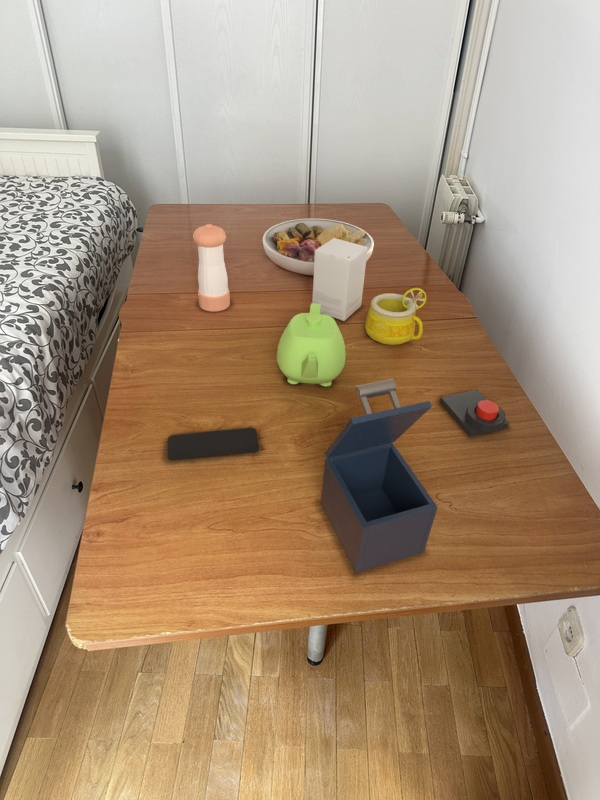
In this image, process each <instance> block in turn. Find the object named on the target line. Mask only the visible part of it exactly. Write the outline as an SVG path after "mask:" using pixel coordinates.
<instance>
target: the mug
mask: <svg viewBox="0 0 600 800" xmlns="http://www.w3.org/2000/svg"><path fill="white" fill-rule="evenodd" d="M414 291H419V292H418V293H417V294H416V296H415V295H414ZM409 293H411V295H412V297H407V295H408V294H409ZM423 296H424V297H423ZM417 301H420V302H421V304H420V305H418V304H417ZM426 302H427V294H426V292H425V291H424V289H422V288H420V287H413V288H410V289H408V290H407V291H405V292H404V294H399V293H394V292H393V293H390V292H389V293H388V292H387V293H386V292H385V293H381V294H378V295H377V296H374V297H373V298H372V299H371V300H370V303H369V304H370V306H369V308H368V312H367V315H366V318H365V325H364V327H365V332H366V334H367V335H368V337H369V338H371V339H372V340H373V341H376V342H378V343H379V344H383V345H390V346H396V345H402V344H405V343H408V342H409V341H416V340H419V339H421V337H422V335H423V332H424V331H423V327H424V325H423V321H422V320H421V319H420V318H419V317H418V316H416V312H417V310H419V309H421V308H422V307H423V306H424V305H425V304H426ZM416 322H417V324H418V333H417V335H415V331H416Z"/></svg>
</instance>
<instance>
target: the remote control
mask: <svg viewBox="0 0 600 800" xmlns="http://www.w3.org/2000/svg"><path fill="white" fill-rule="evenodd" d="M166 449H167V459H168V460H169V461H182V460H192V459H201V458H212V457H213V458H214V457H222V456H233V455H241V454H252V453H257V452H258V451H259V449H260V445H259V440H258V434H257V430H256V429H255V428H254V427H242V428H231V429H221V430H209V431H199V432H198V431H197V432H188V433H177V434H176V433H175V434H171V435H169V436H168V438H167V447H166Z"/></svg>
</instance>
